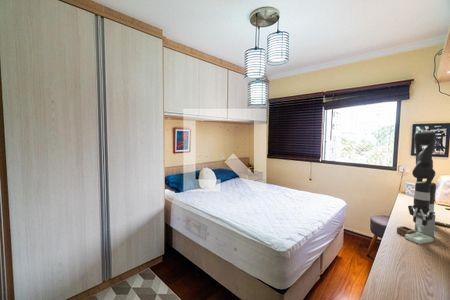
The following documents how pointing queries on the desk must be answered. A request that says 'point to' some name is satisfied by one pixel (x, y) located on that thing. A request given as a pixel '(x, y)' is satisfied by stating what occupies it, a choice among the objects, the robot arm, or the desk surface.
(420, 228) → the pin
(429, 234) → the skincare box
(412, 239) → the tray
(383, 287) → the desk surface
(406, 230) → the block
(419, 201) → the robot arm
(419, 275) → the desk surface
